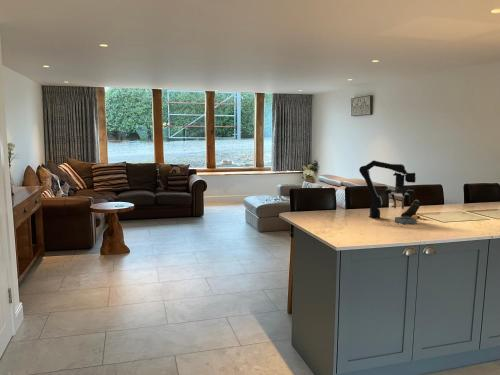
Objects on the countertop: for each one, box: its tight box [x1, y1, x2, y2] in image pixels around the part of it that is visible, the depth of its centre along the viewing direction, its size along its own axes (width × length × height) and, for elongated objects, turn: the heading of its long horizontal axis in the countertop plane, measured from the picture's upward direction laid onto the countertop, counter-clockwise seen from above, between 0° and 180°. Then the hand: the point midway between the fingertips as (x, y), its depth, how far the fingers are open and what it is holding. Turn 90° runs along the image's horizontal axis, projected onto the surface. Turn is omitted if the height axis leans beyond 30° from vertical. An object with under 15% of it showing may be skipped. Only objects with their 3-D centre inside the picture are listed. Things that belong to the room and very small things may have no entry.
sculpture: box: [400, 199, 421, 219], centre depth 305 cm, size 6×13×13 cm, turn 52°
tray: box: [394, 216, 417, 225], centre depth 284 cm, size 10×10×3 cm
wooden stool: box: [393, 195, 405, 210], centre depth 296 cm, size 6×6×8 cm
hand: (398, 203), depth 296 cm, fingers closed on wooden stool, 6 cm apart
